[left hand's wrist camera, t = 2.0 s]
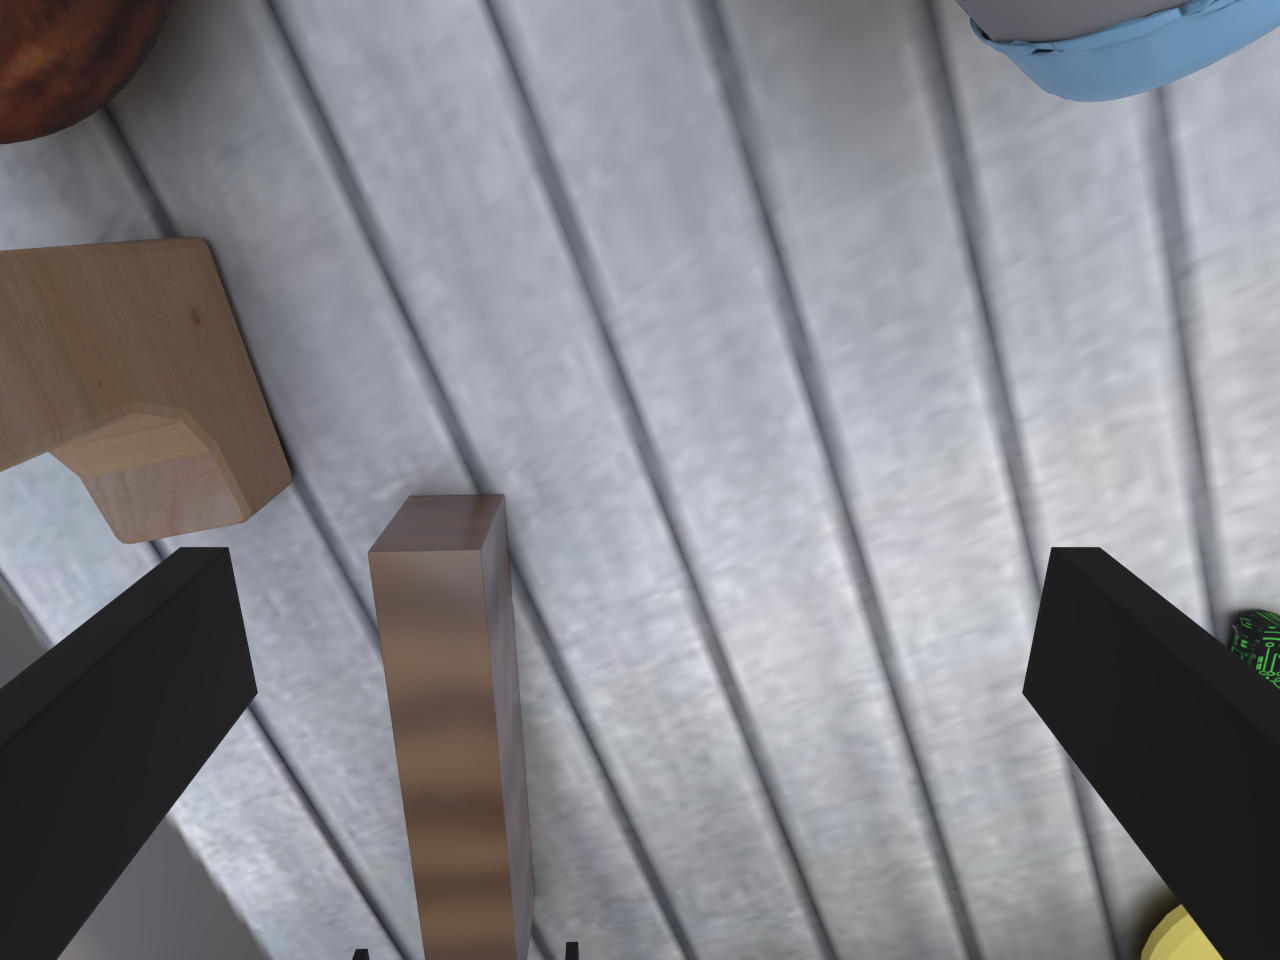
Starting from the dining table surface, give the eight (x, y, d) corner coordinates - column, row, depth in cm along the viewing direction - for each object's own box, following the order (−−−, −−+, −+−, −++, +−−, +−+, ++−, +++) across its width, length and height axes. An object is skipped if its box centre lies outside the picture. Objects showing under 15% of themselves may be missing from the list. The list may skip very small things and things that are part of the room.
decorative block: (184, 504, 49) (-415, 913, 21) (81, 260, 44) (-883, 362, 16) (299, 482, 49) (-151, 866, 21) (209, 233, 44) (-547, 287, 16)
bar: (409, 495, 49) (367, 552, 42) (504, 494, 50) (480, 549, 42) (457, 899, 60) (431, 1005, 52) (535, 897, 60) (521, 1002, 52)
